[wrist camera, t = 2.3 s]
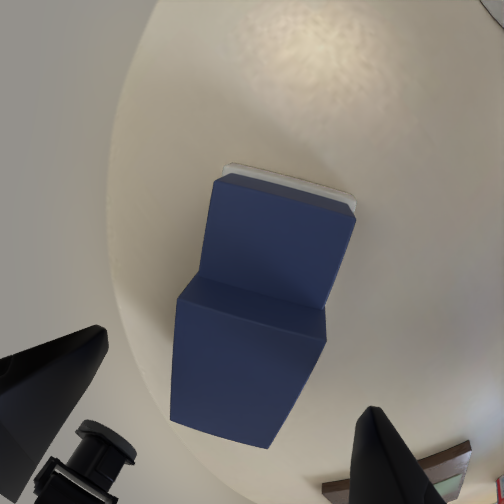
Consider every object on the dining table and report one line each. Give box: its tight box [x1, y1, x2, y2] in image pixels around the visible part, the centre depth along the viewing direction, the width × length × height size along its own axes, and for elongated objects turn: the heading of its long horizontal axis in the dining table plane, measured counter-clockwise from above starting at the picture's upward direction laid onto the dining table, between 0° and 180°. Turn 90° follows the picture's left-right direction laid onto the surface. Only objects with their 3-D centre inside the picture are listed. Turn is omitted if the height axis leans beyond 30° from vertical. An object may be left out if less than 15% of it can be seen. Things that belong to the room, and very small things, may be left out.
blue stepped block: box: [170, 163, 357, 449], centre depth 11 cm, size 11×5×5 cm, turn 168°
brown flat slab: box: [322, 441, 472, 504], centre depth 20 cm, size 14×18×1 cm
